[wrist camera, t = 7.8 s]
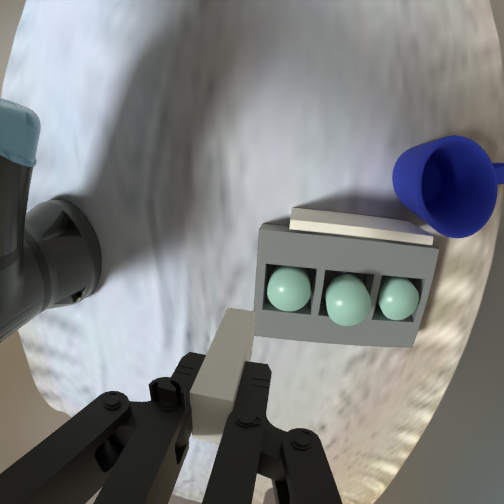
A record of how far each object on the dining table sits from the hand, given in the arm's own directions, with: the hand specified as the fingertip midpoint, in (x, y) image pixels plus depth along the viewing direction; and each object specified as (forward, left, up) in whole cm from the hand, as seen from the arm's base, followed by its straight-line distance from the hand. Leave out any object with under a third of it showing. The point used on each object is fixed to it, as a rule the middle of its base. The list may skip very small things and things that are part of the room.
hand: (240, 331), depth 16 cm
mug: (+17, +9, -19) cm, 27 cm away
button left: (+2, -4, -18) cm, 18 cm away
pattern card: (+8, +4, -18) cm, 20 cm away
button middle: (+8, -4, -16) cm, 18 cm away
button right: (+14, -4, -18) cm, 23 cm away
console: (+8, -4, -18) cm, 21 cm away
